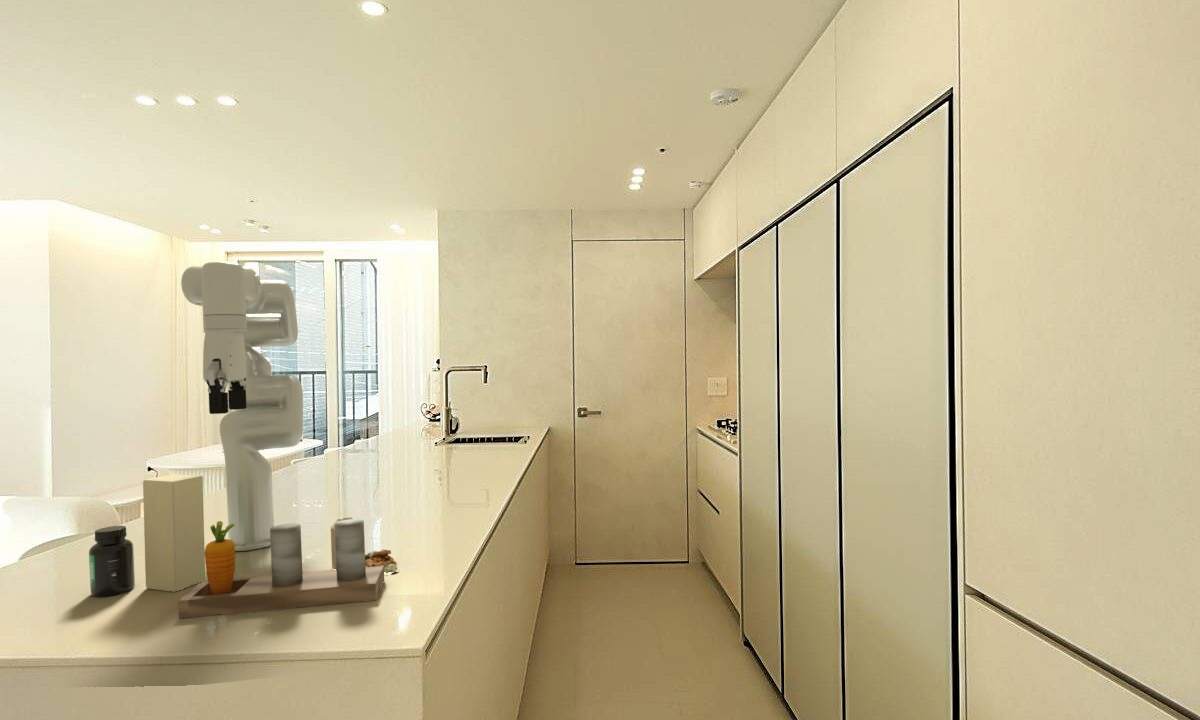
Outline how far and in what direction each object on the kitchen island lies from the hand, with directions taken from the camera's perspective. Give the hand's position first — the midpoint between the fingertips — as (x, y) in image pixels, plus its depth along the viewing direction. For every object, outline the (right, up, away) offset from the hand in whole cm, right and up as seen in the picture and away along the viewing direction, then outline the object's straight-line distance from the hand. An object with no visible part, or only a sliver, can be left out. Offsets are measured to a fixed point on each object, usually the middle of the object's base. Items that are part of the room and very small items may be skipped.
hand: (228, 411), depth 131 cm
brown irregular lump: (+29, -33, +4) cm, 44 cm away
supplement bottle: (-19, -34, -5) cm, 40 cm away
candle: (+21, -33, +5) cm, 39 cm away
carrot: (+6, -34, -14) cm, 37 cm away
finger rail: (+17, -33, -12) cm, 39 cm away
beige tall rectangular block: (-9, -34, -2) cm, 35 cm away
